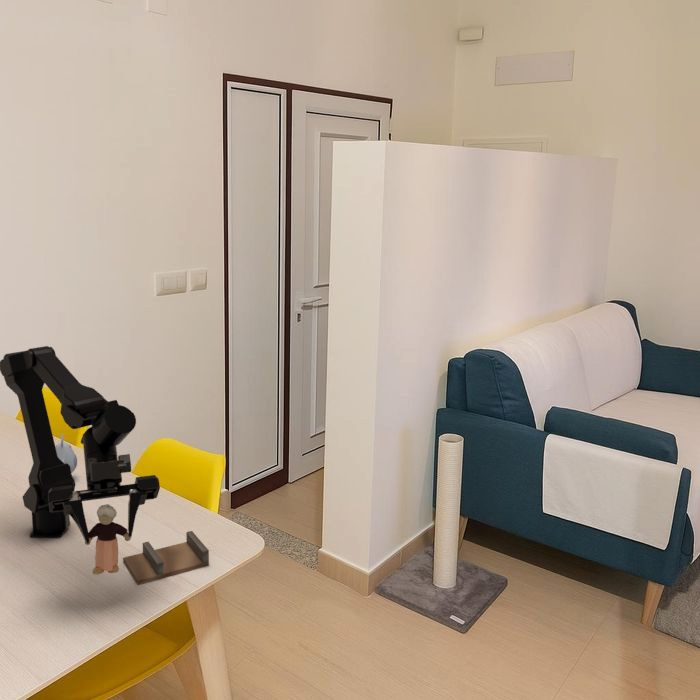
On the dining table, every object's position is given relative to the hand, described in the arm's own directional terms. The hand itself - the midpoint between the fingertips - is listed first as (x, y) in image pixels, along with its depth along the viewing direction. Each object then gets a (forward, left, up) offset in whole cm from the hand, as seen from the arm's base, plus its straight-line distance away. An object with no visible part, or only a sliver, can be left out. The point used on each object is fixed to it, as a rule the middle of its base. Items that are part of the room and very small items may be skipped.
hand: (109, 539), depth 127 cm
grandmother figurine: (-1, +1, -7) cm, 7 cm away
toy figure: (-25, +53, -13) cm, 60 cm away
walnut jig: (+7, +15, -13) cm, 21 cm away
